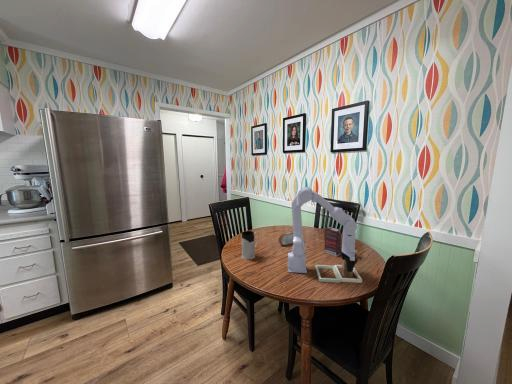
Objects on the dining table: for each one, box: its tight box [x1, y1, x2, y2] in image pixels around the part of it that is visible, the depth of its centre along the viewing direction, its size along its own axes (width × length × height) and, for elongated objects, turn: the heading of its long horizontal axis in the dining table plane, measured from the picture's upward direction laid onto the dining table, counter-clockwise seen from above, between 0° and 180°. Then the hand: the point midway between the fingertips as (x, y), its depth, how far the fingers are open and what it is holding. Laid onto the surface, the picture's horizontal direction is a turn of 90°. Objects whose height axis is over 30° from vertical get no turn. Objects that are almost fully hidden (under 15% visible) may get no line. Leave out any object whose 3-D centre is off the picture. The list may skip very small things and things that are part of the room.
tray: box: [333, 264, 363, 284], centre depth 105 cm, size 10×14×2 cm
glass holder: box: [241, 230, 260, 260], centre depth 129 cm, size 9×14×15 cm, turn 137°
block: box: [341, 259, 354, 278], centre depth 105 cm, size 4×4×7 cm
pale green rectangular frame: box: [314, 264, 341, 284], centre depth 105 cm, size 10×14×2 cm
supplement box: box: [324, 226, 342, 257], centre depth 129 cm, size 9×5×16 cm, turn 40°
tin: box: [278, 230, 294, 246], centre depth 146 cm, size 15×3×8 cm, turn 120°
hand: (347, 267), depth 105 cm, fingers open, 7 cm apart
